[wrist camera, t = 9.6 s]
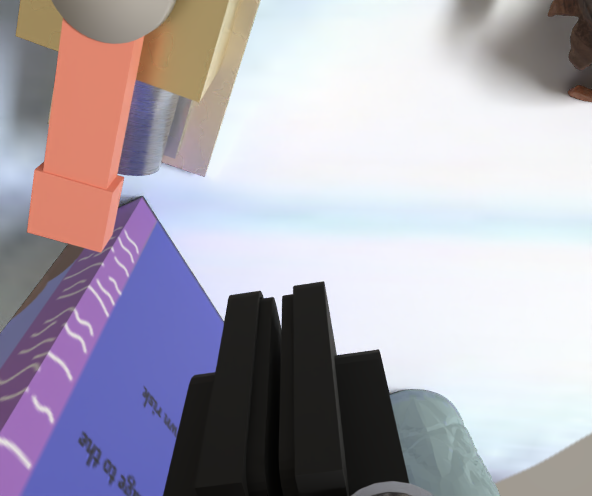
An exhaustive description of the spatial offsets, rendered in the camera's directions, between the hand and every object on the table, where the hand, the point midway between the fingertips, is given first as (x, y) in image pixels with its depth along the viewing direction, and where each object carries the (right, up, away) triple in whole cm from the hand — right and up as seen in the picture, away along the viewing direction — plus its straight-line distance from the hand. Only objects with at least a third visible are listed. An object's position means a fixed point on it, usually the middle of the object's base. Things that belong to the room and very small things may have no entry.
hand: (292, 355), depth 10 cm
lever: (-8, +9, +13) cm, 18 cm away
